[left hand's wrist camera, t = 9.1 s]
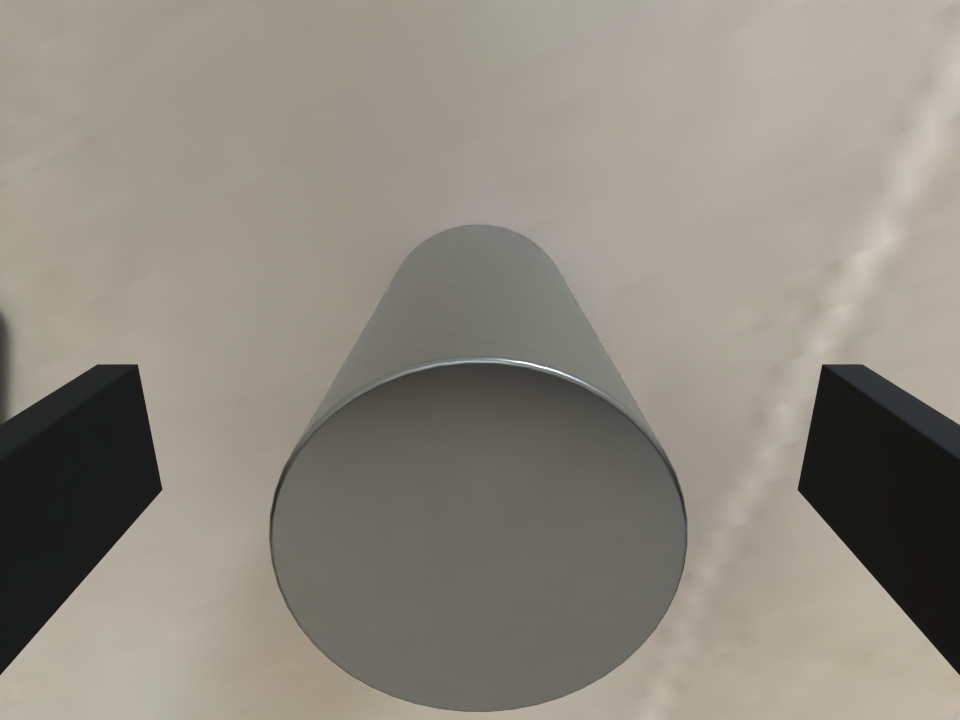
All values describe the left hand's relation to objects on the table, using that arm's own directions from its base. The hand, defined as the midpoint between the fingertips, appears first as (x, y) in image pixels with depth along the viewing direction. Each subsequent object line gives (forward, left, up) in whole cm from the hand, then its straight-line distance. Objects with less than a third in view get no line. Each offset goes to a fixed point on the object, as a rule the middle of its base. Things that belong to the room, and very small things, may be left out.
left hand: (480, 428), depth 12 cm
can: (0, 0, -8) cm, 8 cm away
